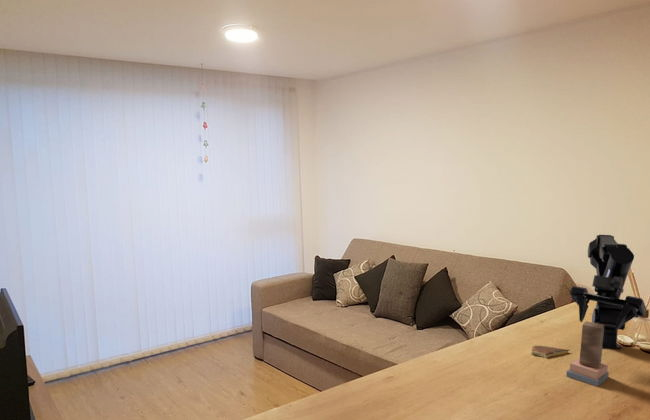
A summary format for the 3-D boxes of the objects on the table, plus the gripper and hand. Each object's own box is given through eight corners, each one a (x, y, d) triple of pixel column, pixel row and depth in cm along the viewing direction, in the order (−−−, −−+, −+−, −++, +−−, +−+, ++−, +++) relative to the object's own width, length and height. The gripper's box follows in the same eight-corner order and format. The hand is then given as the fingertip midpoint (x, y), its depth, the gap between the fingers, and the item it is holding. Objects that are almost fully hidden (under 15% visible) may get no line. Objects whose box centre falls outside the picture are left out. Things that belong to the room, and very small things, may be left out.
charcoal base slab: (566, 378, 132) (566, 371, 131) (577, 370, 137) (578, 362, 137) (597, 389, 126) (597, 381, 125) (608, 379, 131) (608, 372, 131)
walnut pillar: (579, 363, 131) (582, 324, 130) (582, 358, 134) (586, 321, 133) (597, 368, 128) (601, 328, 127) (600, 363, 131) (604, 324, 130)
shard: (569, 354, 148) (569, 348, 148) (570, 363, 141) (570, 357, 141) (531, 348, 152) (532, 343, 152) (530, 357, 146) (531, 351, 145)
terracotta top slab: (569, 370, 132) (570, 363, 131) (580, 363, 136) (581, 356, 136) (596, 379, 126) (597, 371, 126) (607, 372, 131) (607, 364, 130)
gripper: (573, 259, 143) (556, 302, 137) (645, 270, 129) (629, 318, 123) (582, 280, 149) (566, 322, 143) (652, 292, 135) (637, 339, 129)
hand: (597, 325), depth 134 cm, fingers open, 9 cm apart
